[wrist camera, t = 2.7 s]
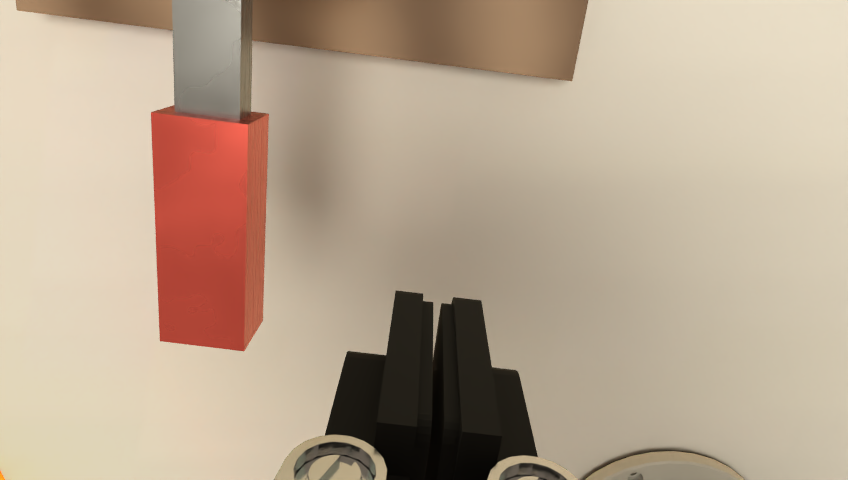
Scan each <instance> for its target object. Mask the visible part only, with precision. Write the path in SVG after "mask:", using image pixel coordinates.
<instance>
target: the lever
mask: <svg viewBox="0 0 848 480" xmlns="http://www.w3.org/2000/svg"><path fill="white" fill-rule="evenodd" d="M172 22H173V62H174V101H175V105H174V106H170V107H167V108H164V109H161V110H157V111H154V112H151V124H152V150H153V175H154V201H155V226H156V252H157V278H158V303H159V329H160V341H164V342H172V343H181V344H189V345H197V346H206V347H214V348H222V349H230V350H239V351H245V349H246V347H247V346H248V344H249V342H250V341H251V339H252V337H253V336H254V334H255V332H256V331H257V329H258V327H259V326H260V324H261V323H262V321H263V292H264V258H265V223H266V189H267V155H268V120H269V114H266V113H258V112H251V77H252V23H253V0H172Z"/></svg>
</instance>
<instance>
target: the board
mask: <svg viewBox="0 0 848 480" xmlns="http://www.w3.org/2000/svg"><path fill="white" fill-rule="evenodd" d="M587 4H588V0H253V23H252V40H254V41H262V42H269V43H277V44H285V45H293V46H301V47H309V48H316V49H324V50H332V51H340V52H348V53H356V54H363V55H371V56H379V57H387V58H395V59H403V60H411V61H418V62H426V63H434V64H442V65H450V66H458V67H465V68H473V69H481V70H489V71H497V72H505V73H512V74H520V75H528V76H536V77H544V78H552V79H559V80H567V81H572V79H573V74H574V69H575V64H576V59H577V54H578V49H579V44H580V39H581V34H582V29H583V24H584V19H585V14H586V9H587ZM16 6H17V10H19V11H26V12H34V13H42V14H50V15H58V16H66V17H73V18H81V19H89V20H97V21H105V22H113V23H120V24H128V25H136V26H144V27H152V28H160V29H167V30H173V22H172V0H16Z"/></svg>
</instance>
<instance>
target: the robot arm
mask: <svg viewBox="0 0 848 480" xmlns="http://www.w3.org/2000/svg"><path fill="white" fill-rule="evenodd" d="M274 480H578V479H577V478H576V477H575V476H574V475H573V474H571V473H570V472H569V471H568V470H567V469H565V468H563V467H561V466H560V465H558V464H556V463H554V462H552V461H549V460H546V459H543V458H540V457H538V456H537V452H536V447H535V443H534V438H533V434H532V430H531V425H530V421H529V417H528V412H527V408H526V403H525V399H524V395H523V390H522V386H521V381H520V377H519V374H518V371H516V370H509V369H500V368H492V366H491V360H490V353H489V347H488V341H487V334H486V328H485V321H484V315H483V309H482V302H481V301H480V300H472V299H463V298H455V297H453V299H452V304H443V303H442V304H441V309H440V315H439V322H438V329H437V336H436V343H435V350H434V356H433V302H426V301H423V294H420V293H412V292H403V291H396V293H395V300H394V307H393V314H392V320H391V327H390V334H389V341H388V348H387V355H378V354H369V353H360V352H351V351H348V352H347V354H346V357H345V361H344V365H343V368H342V372H341V376H340V380H339V384H338V387H337V391H336V395H335V399H334V403H333V406H332V410H331V414H330V418H329V422H328V425H327V429H326V433H325V436H319V437H316V438H313V439H310V440H307V441H305V442H303V443H302V444H300V445H299V446H297V447H296V448H294V449H293V450H292V452H291V453H290V454H289V455H288V456H287V458H286V459H285V461H284V462H283V464H282V466H281V468H280V469H279V471H278V473H277V475H276V477H275V478H274ZM585 480H744V478H742V477H741V476H740V475H739V474H737V473H736V472H735V471H734V470H732V469H731V468H730V467H728V466H726V465H724V464H722V463H720V462H718V461H716V460H714V459H711V458H708V457H704V456H701V455H697V454H694V453H685V452H677V451H664V452H650V453H644V454H639V455H634V456H630V457H627V458H624V459H622V460H619V461H616V462H613V463H611V464H609V465H607V466H605V467H603V468H602V469H600V470H598V471H596V472H594V473H593V474H592V475H590V476H589V477H588V478H586V479H585Z"/></svg>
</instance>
